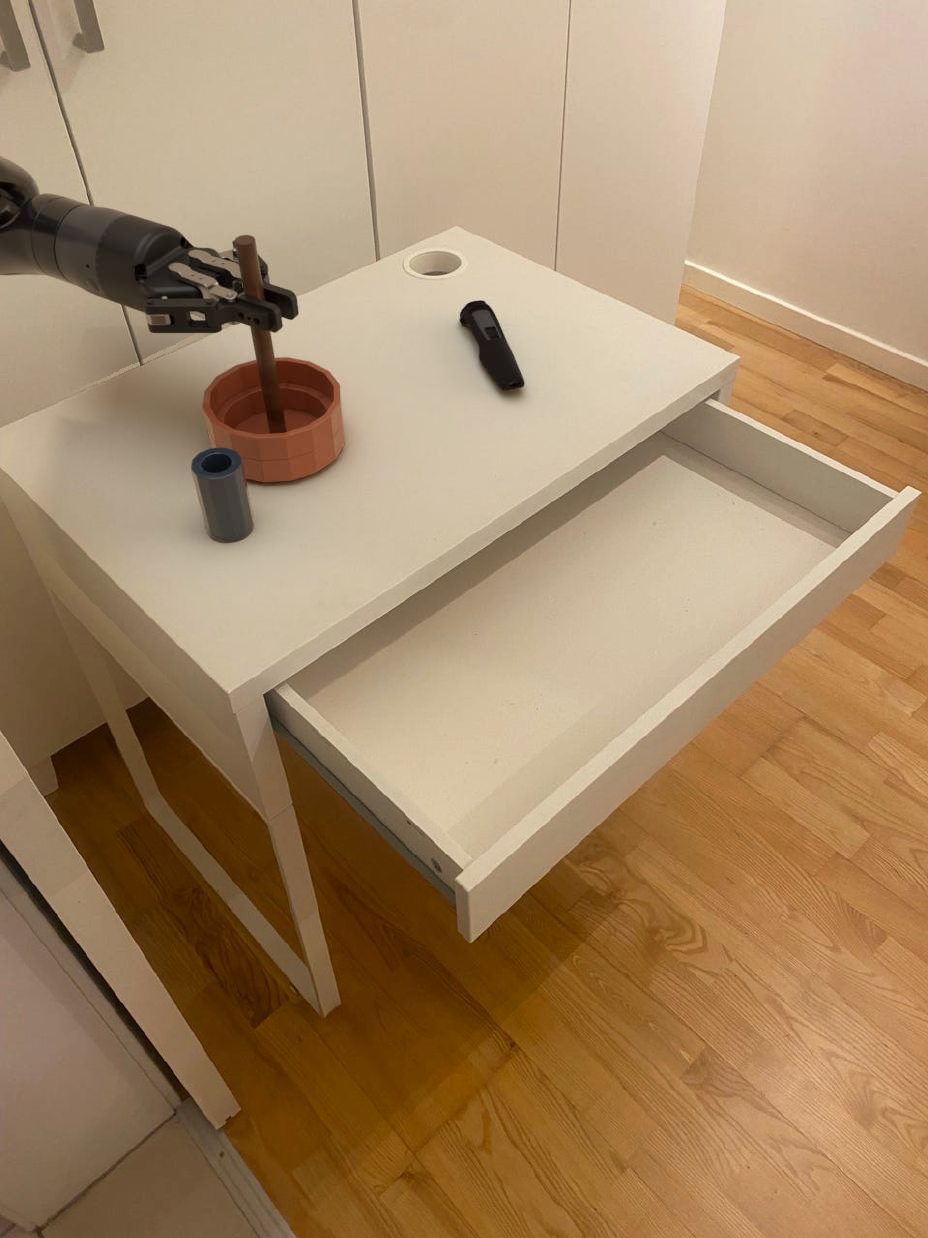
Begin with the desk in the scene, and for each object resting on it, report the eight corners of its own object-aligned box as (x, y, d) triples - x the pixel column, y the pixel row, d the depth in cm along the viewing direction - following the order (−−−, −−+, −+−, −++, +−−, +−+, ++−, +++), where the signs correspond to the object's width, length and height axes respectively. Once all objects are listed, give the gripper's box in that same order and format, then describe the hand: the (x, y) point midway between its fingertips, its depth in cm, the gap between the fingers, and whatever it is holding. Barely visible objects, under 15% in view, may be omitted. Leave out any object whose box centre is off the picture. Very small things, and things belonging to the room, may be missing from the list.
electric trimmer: (495, 405, 95) (496, 378, 93) (456, 320, 105) (457, 294, 103) (531, 400, 96) (533, 373, 94) (489, 316, 106) (491, 290, 103)
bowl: (209, 490, 86) (198, 441, 82) (217, 409, 94) (207, 360, 90) (346, 482, 87) (341, 433, 83) (343, 402, 95) (338, 354, 91)
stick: (270, 441, 89) (234, 244, 75) (270, 431, 90) (234, 235, 76) (287, 439, 89) (255, 243, 75) (287, 429, 90) (254, 233, 76)
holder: (205, 544, 81) (189, 480, 76) (208, 512, 84) (193, 448, 78) (253, 541, 81) (240, 477, 76) (255, 509, 84) (242, 445, 79)
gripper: (54, 251, 77) (227, 310, 72) (167, 186, 85) (330, 234, 80) (80, 334, 82) (243, 395, 77) (184, 265, 91) (337, 315, 85)
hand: (286, 313), depth 78 cm, fingers closed on stick, 1 cm apart
